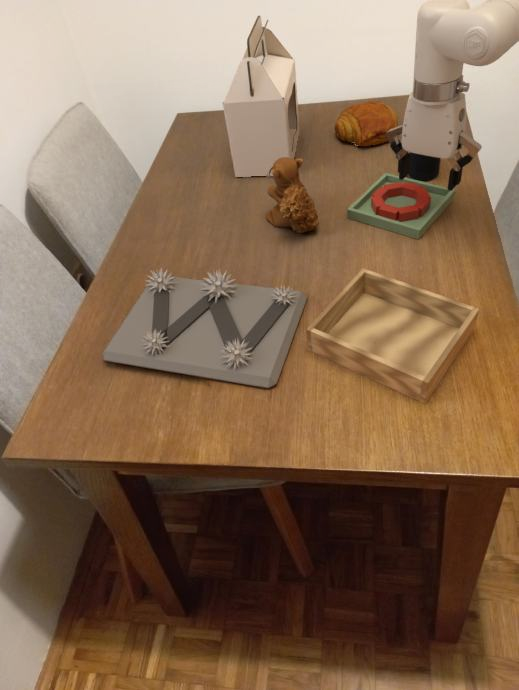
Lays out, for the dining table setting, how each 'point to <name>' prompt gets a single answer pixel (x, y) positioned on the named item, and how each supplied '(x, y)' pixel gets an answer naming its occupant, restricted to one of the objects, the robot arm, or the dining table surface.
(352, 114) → the croissant
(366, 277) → the crate
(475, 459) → the dining table surface
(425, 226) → the tray
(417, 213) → the ring
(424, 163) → the wine bottle
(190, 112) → the dining table surface
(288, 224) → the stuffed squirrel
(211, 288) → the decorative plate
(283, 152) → the gable box
